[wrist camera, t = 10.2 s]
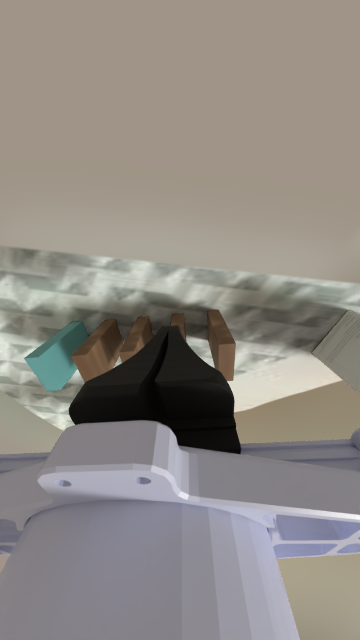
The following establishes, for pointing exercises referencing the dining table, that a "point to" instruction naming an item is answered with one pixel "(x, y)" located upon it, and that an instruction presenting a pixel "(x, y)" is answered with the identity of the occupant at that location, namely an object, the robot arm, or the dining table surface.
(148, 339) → the walnut domino
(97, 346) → the walnut domino
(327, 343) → the skincare box
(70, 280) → the dining table surface
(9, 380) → the dining table surface
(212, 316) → the walnut domino
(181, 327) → the walnut domino
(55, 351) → the teal domino
